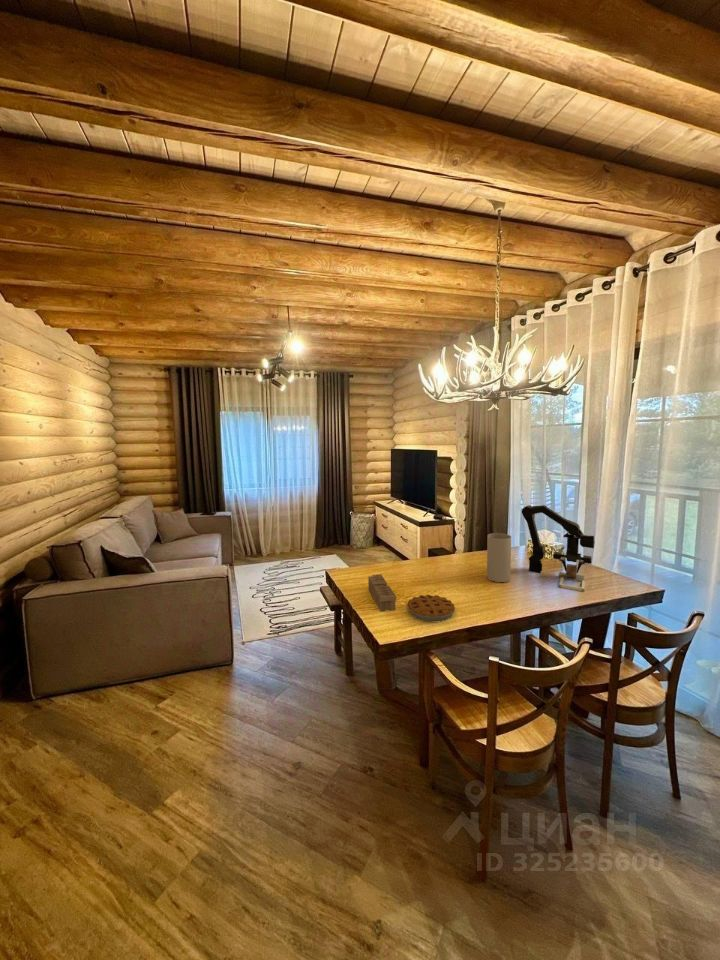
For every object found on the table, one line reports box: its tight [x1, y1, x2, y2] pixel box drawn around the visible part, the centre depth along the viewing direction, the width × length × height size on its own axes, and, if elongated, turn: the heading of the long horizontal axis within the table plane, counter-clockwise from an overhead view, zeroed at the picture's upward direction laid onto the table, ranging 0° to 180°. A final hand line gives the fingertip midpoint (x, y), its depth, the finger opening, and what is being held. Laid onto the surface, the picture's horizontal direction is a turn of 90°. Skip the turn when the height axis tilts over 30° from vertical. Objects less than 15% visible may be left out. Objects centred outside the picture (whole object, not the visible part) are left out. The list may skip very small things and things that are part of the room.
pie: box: [406, 594, 456, 623], centre depth 172 cm, size 22×22×5 cm
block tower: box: [367, 573, 397, 612], centre depth 187 cm, size 8×8×29 cm
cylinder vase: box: [486, 532, 512, 583], centre depth 208 cm, size 12×12×25 cm
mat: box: [558, 571, 585, 583], centre depth 210 cm, size 12×10×1 cm
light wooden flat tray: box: [558, 577, 586, 592], centre depth 199 cm, size 11×13×2 cm
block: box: [565, 563, 578, 578], centre depth 210 cm, size 5×5×6 cm
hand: (571, 572), depth 210 cm, fingers open, 5 cm apart
